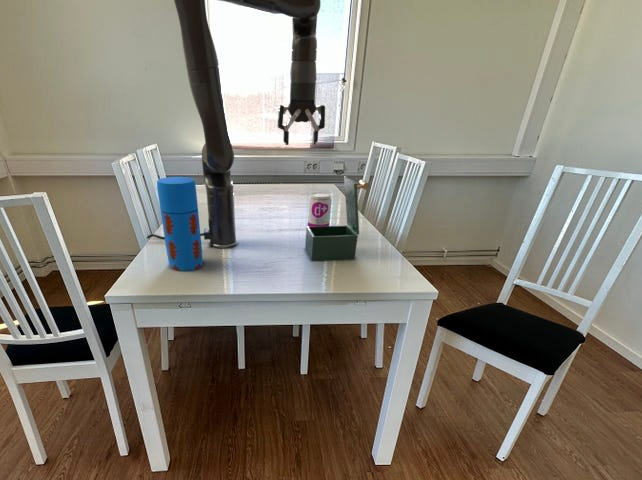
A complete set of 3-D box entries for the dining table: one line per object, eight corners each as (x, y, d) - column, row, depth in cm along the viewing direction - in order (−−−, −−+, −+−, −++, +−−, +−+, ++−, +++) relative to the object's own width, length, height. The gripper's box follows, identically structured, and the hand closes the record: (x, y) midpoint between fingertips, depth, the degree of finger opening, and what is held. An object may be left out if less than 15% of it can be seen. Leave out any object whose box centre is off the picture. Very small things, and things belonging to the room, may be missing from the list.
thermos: (187, 273, 120) (176, 185, 105) (161, 266, 124) (148, 181, 110) (210, 262, 127) (202, 179, 113) (185, 256, 132) (175, 175, 118)
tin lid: (354, 184, 117) (372, 180, 117) (344, 176, 127) (361, 173, 127) (356, 234, 126) (373, 231, 126) (347, 224, 136) (363, 220, 135)
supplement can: (327, 240, 147) (331, 197, 138) (305, 238, 148) (307, 196, 140) (329, 233, 153) (332, 192, 145) (308, 232, 155) (310, 191, 146)
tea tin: (311, 260, 129) (313, 237, 125) (305, 248, 139) (306, 226, 134) (354, 259, 131) (357, 235, 126) (345, 247, 140) (348, 225, 136)
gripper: (324, 81, 118) (320, 143, 127) (277, 81, 116) (276, 143, 126) (330, 81, 112) (325, 146, 121) (280, 81, 110) (279, 146, 120)
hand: (300, 144), depth 123 cm, fingers open, 8 cm apart
